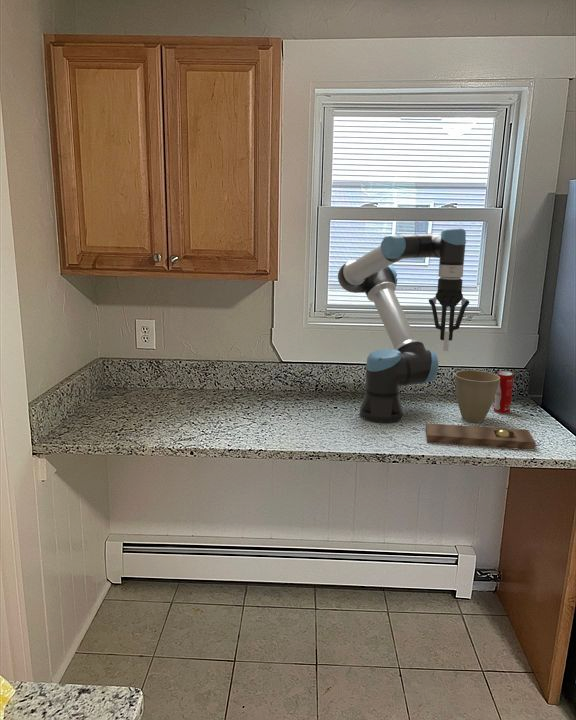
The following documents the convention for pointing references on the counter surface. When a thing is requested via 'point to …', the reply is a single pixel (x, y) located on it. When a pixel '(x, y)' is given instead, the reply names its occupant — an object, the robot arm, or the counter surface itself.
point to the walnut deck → (478, 436)
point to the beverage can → (503, 393)
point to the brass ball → (502, 433)
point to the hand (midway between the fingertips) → (445, 349)
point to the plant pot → (475, 393)
